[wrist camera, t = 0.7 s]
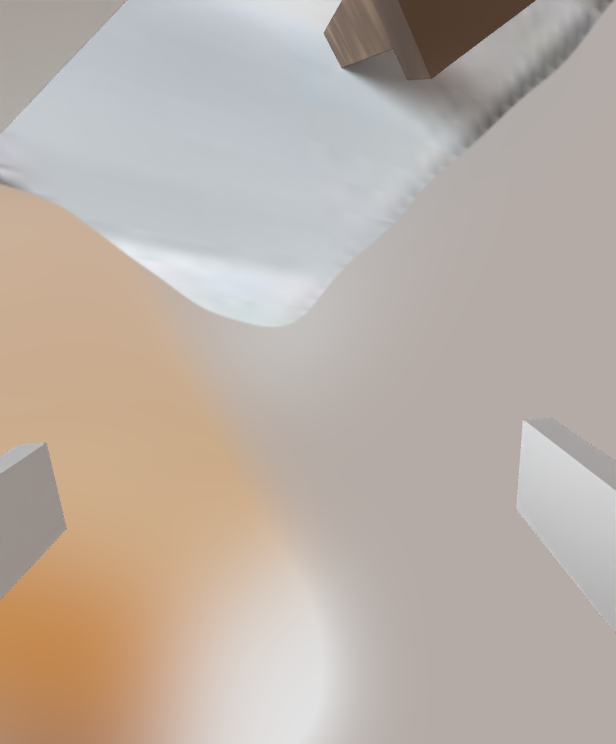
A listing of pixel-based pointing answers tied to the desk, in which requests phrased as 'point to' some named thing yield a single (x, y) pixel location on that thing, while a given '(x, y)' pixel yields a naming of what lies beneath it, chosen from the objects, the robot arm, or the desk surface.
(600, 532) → the robot arm
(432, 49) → the walnut stand
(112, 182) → the desk surface
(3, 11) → the light grey bar
